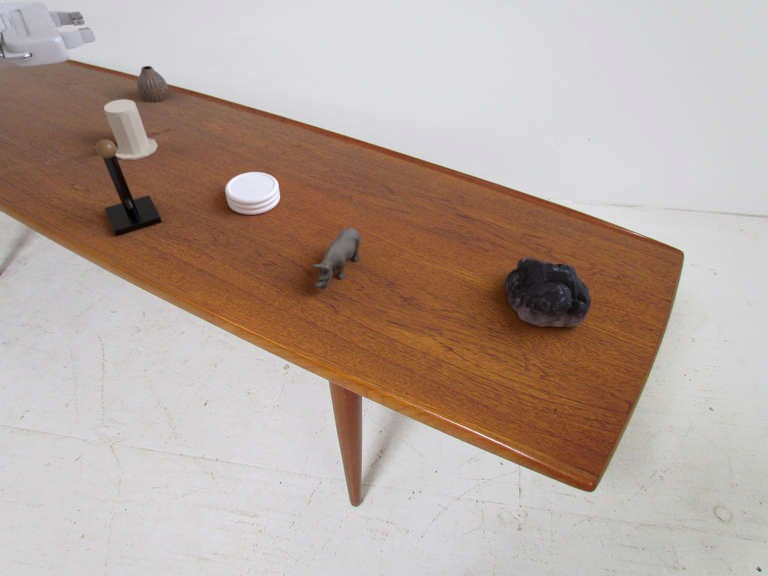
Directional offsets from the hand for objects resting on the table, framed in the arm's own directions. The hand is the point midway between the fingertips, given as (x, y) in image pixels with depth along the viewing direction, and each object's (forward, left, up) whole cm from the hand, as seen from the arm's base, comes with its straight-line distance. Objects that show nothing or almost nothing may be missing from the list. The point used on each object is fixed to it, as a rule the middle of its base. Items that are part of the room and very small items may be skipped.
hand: (87, 25), depth 83 cm
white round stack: (+16, -21, -28) cm, 39 cm away
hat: (+1, +10, -28) cm, 30 cm away
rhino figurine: (+20, -47, -28) cm, 58 cm away
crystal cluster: (+45, -70, -28) cm, 88 cm away
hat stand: (-5, -15, -28) cm, 32 cm away
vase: (+11, +30, -28) cm, 43 cm away
